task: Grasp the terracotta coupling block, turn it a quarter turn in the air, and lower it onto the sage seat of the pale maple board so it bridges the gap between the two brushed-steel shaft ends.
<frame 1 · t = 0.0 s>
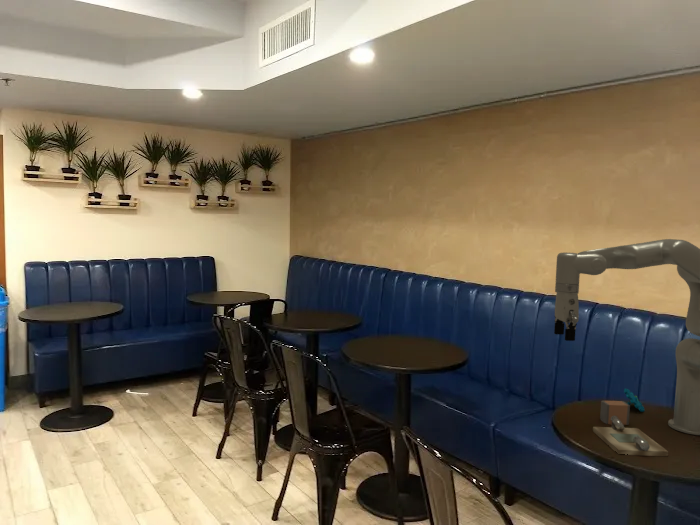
hand: (564, 337, 181), 31 cm above the table, fingers open, 9 cm apart
coupler: (614, 422, 187), on the table
shaft angled: (617, 423, 176), point 4 cm above the table
gear: (633, 409, 200), on the table
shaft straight: (641, 443, 161), point 3 cm above the table
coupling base: (628, 442, 169), on the table
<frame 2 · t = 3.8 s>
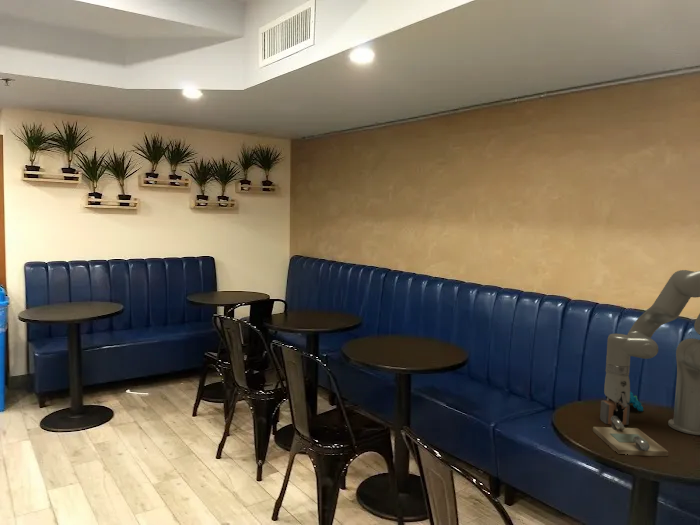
hand: (614, 418, 187), 1 cm above the table, fingers closed on coupler, 4 cm apart
coupler: (614, 421, 187), on the table, touching gripper
everything else where it was.
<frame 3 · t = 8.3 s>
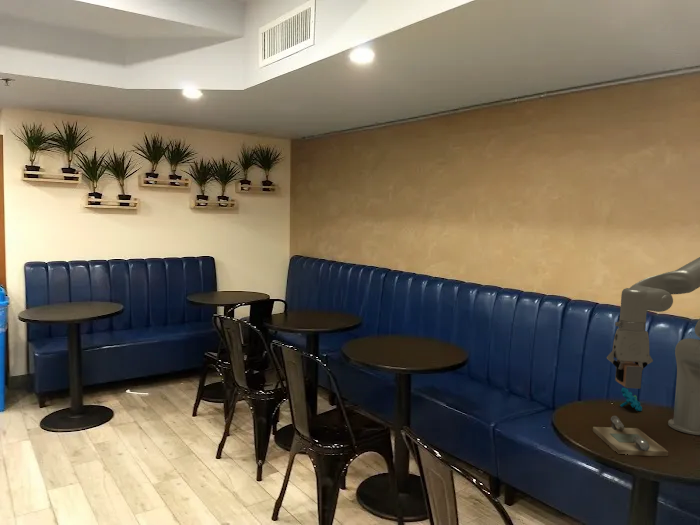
hand: (628, 380, 171), 20 cm above the table, fingers closed on coupler, 4 cm apart
coupler: (627, 384, 171), point 18 cm above the table, touching gripper
everything else where it was.
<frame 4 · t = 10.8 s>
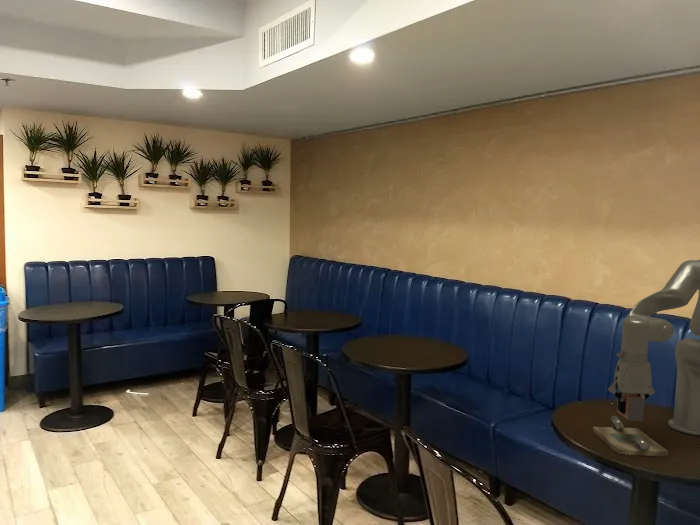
hand: (629, 412, 168), 10 cm above the table, fingers closed on coupler, 4 cm apart
coupler: (629, 416, 168), point 9 cm above the table, touching gripper
when the fingers open (4 cm above the table, at t = 12.7 s): coupler stays where it is, resting on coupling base.
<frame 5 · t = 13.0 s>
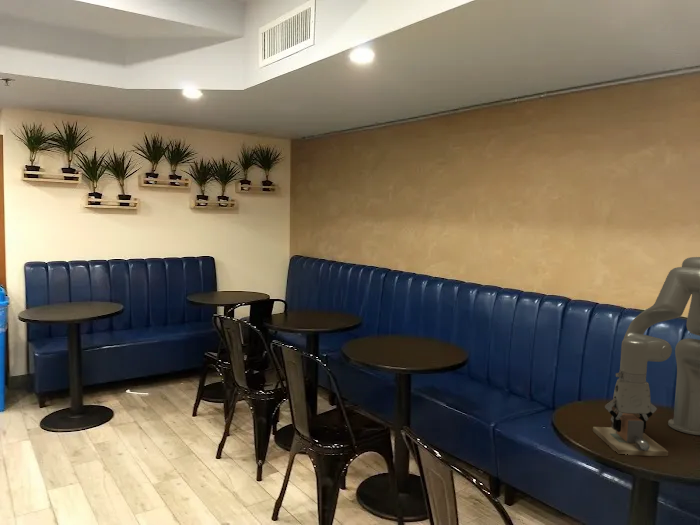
hand: (629, 430, 169), 4 cm above the table, fingers open, 7 cm apart
coupler: (628, 437, 169), point 2 cm above the table, touching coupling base
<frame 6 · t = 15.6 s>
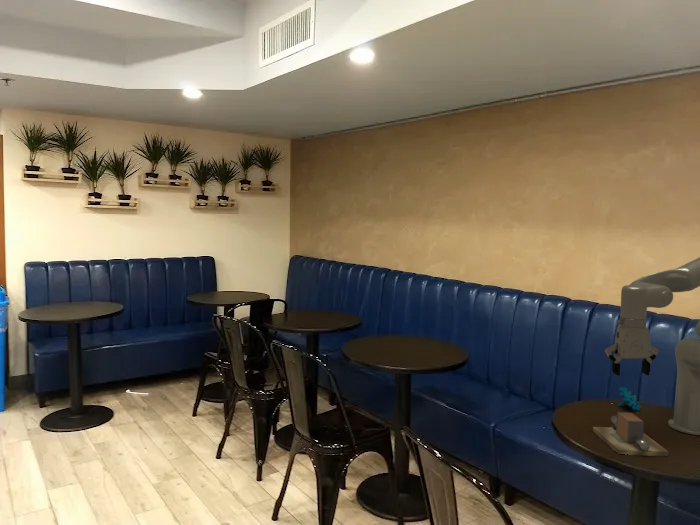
hand: (630, 374, 172), 21 cm above the table, fingers open, 9 cm apart
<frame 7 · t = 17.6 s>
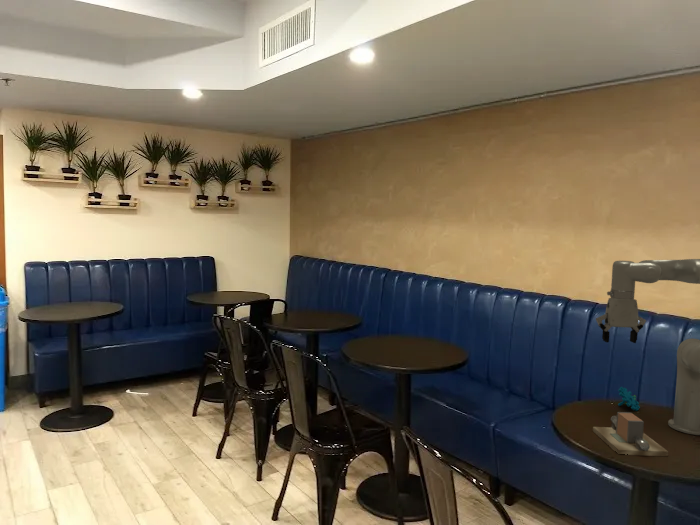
hand: (619, 341, 188), 28 cm above the table, fingers open, 9 cm apart
at the end: coupler 0.1 cm off-centre on the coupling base, point 1.7 cm above the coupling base's base; coupler tilted 0°; the gripper is holding nothing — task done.
